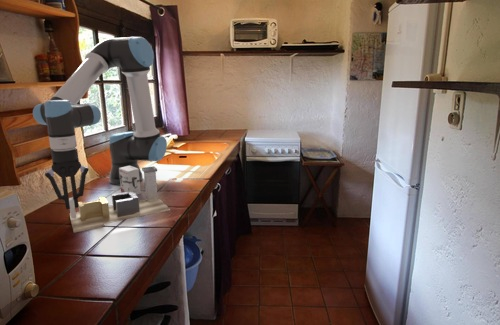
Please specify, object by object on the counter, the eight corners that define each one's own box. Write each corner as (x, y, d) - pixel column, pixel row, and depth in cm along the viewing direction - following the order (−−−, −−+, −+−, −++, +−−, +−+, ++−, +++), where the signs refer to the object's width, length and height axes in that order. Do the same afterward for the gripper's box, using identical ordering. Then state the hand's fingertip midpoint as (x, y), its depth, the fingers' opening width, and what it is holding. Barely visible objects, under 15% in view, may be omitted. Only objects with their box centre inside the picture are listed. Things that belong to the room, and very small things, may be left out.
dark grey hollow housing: (113, 208, 126) (111, 194, 125) (134, 204, 130) (132, 190, 129) (118, 217, 118) (116, 202, 117) (140, 212, 122) (139, 198, 121)
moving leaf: (79, 215, 120) (77, 200, 118) (106, 210, 124) (104, 196, 123) (82, 222, 113) (80, 207, 112) (109, 217, 118) (108, 202, 116)
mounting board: (69, 216, 122) (69, 213, 122) (158, 199, 138) (157, 197, 138) (73, 232, 109) (73, 229, 108) (171, 212, 125) (170, 209, 124)
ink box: (120, 194, 145) (117, 167, 142) (131, 191, 148) (128, 165, 146) (130, 198, 139) (128, 171, 136) (141, 195, 143) (139, 168, 140)
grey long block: (144, 199, 135) (141, 167, 132) (156, 197, 138) (153, 166, 134) (147, 202, 131) (145, 170, 128) (159, 200, 134) (157, 168, 131)
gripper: (40, 153, 103) (51, 225, 109) (87, 148, 110) (95, 216, 115) (40, 149, 109) (51, 217, 115) (85, 144, 116) (93, 209, 122)
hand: (73, 217), depth 115 cm, fingers closed
